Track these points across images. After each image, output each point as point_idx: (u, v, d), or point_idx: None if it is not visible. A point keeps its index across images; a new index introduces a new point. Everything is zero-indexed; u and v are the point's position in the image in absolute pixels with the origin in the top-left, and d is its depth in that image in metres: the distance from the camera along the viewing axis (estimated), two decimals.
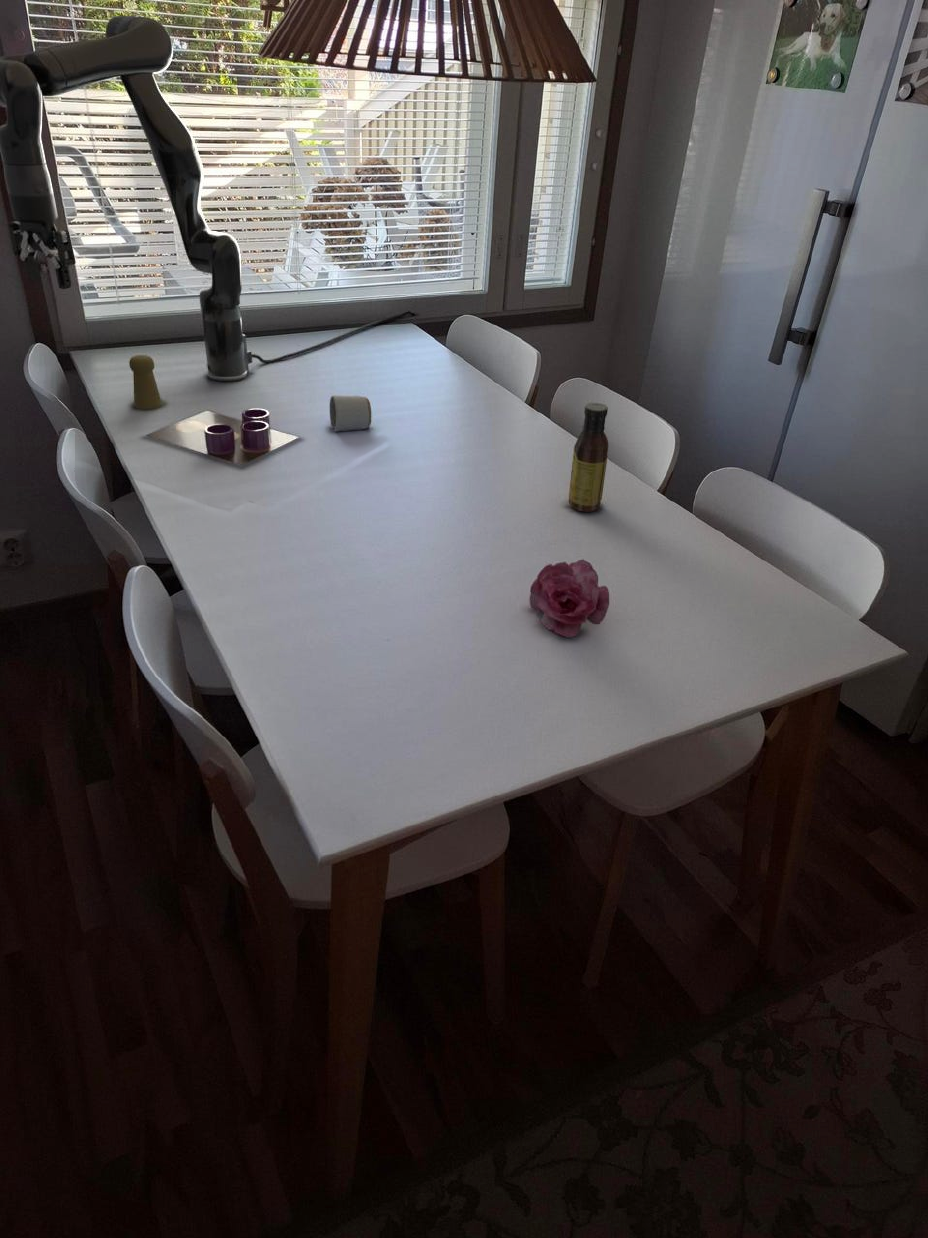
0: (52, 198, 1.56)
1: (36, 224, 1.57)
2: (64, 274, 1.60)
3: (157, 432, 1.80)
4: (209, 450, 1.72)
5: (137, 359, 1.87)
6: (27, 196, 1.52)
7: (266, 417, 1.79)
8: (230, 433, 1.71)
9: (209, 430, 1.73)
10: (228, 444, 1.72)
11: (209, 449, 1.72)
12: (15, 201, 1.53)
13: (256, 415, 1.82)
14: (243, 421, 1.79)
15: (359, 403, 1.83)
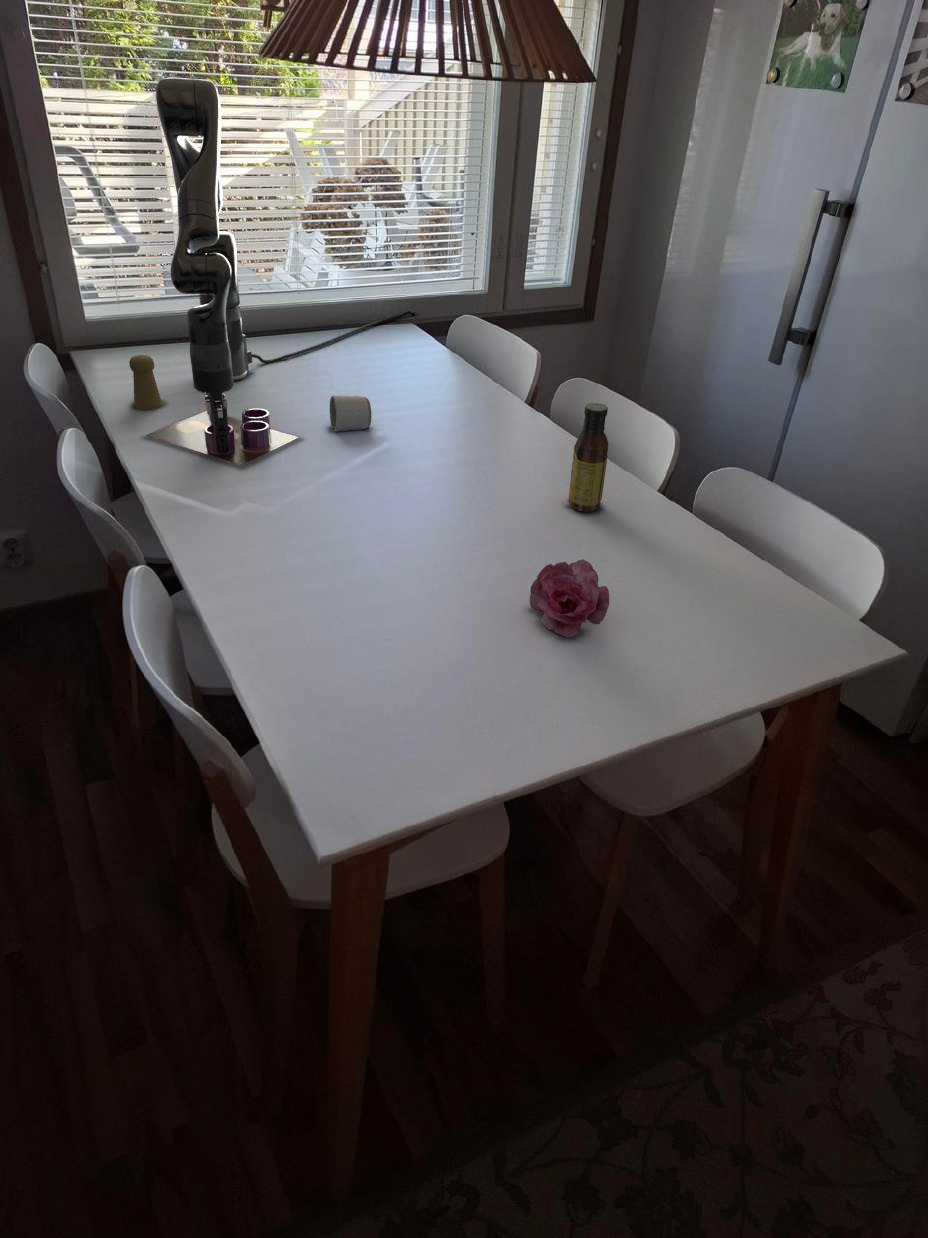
0: (224, 373, 1.63)
1: (209, 393, 1.66)
2: (220, 441, 1.69)
3: (157, 432, 1.80)
4: (209, 450, 1.72)
5: (137, 359, 1.87)
6: (198, 370, 1.62)
7: (266, 417, 1.79)
8: (230, 433, 1.71)
9: (209, 430, 1.73)
10: (228, 444, 1.72)
11: (209, 449, 1.72)
12: (192, 372, 1.64)
13: (256, 415, 1.82)
14: (243, 421, 1.79)
15: (359, 403, 1.83)
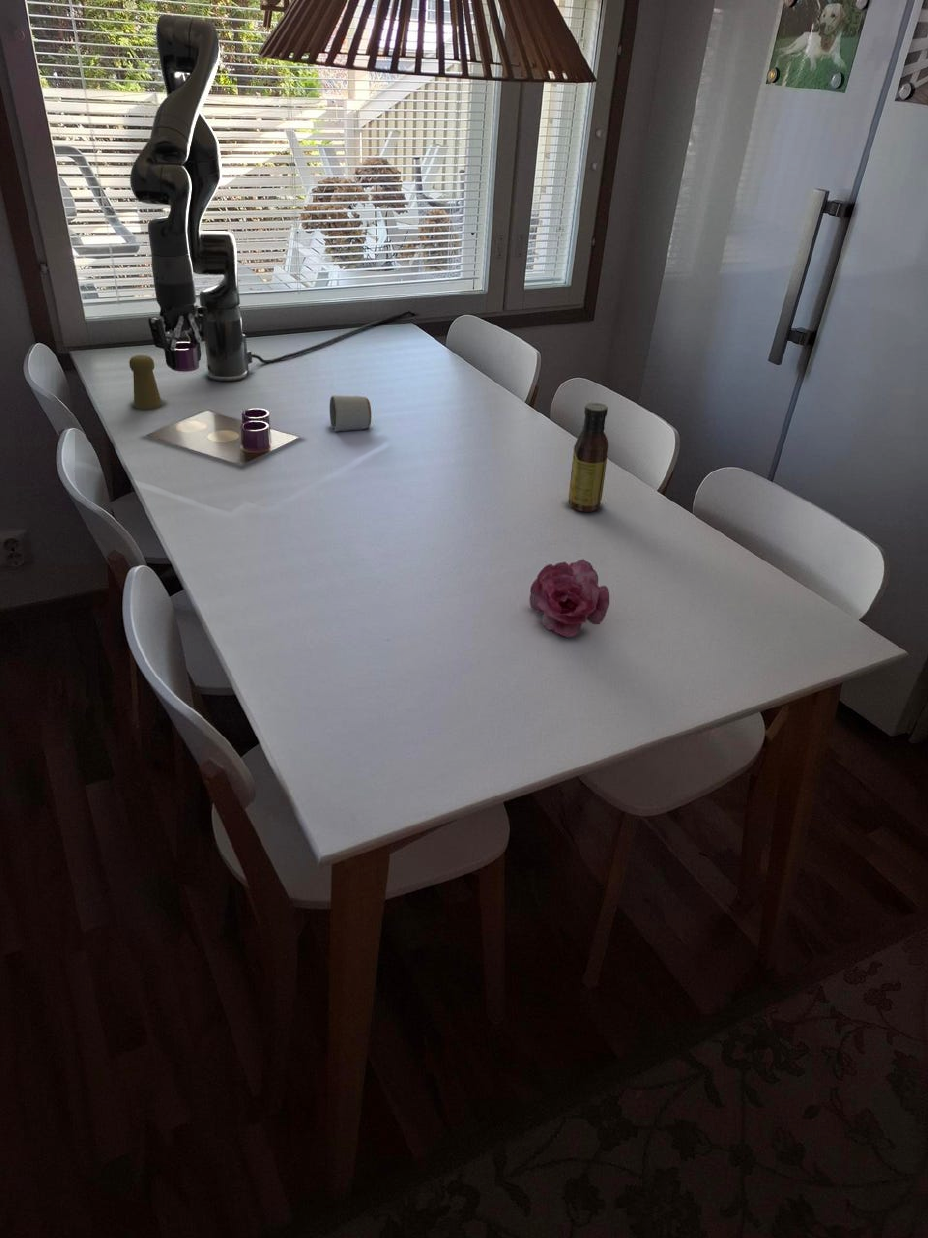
0: (168, 287, 1.64)
1: None
2: (166, 355, 1.71)
3: (157, 432, 1.80)
4: None
5: (137, 359, 1.87)
6: None
7: (266, 417, 1.79)
8: (182, 351, 1.71)
9: (182, 346, 1.76)
10: (179, 362, 1.72)
11: None
12: None
13: (256, 415, 1.82)
14: (243, 421, 1.79)
15: (359, 403, 1.83)
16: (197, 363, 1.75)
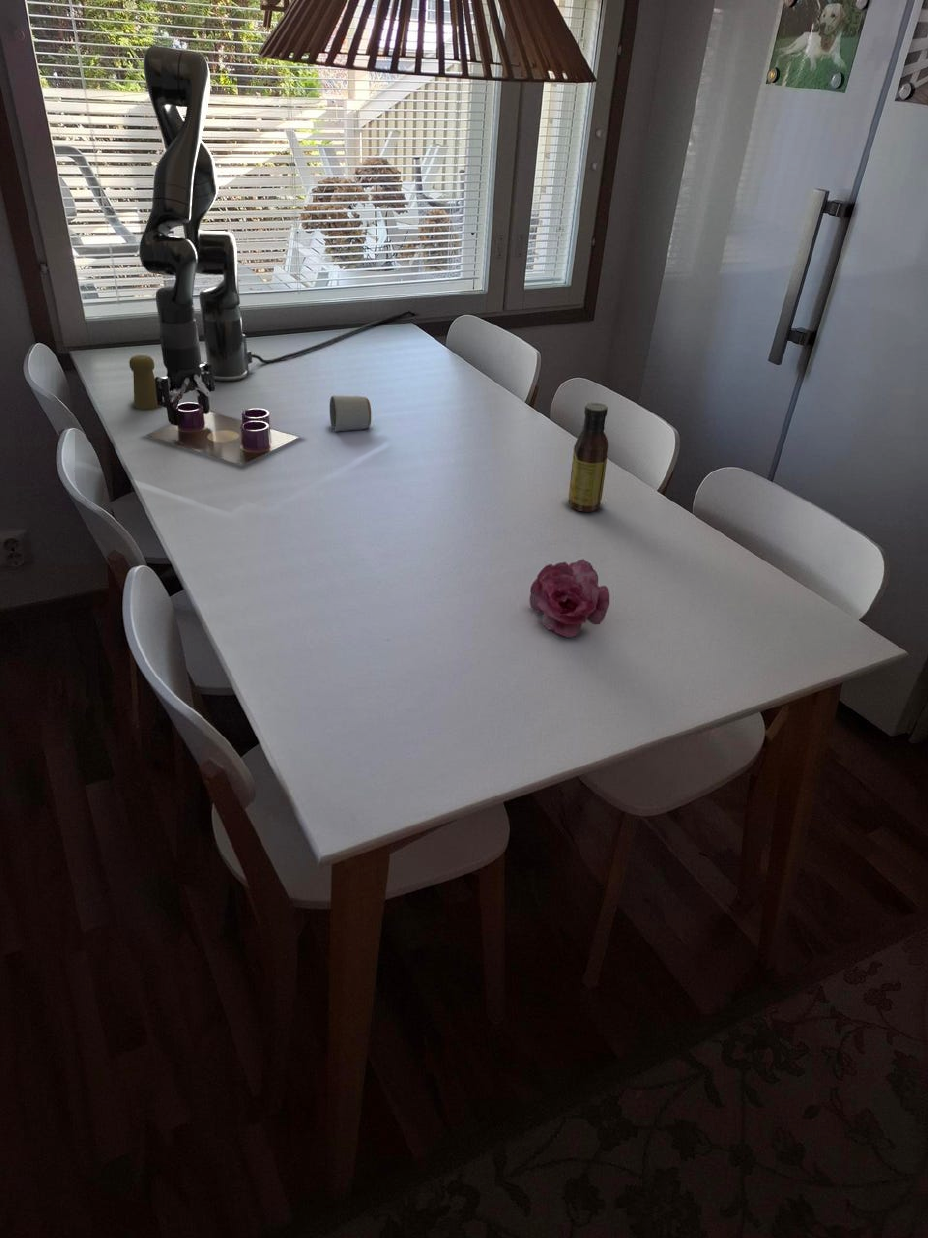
0: (175, 352, 1.71)
1: None
2: (168, 413, 1.77)
3: (157, 432, 1.80)
4: None
5: (137, 359, 1.87)
6: None
7: (266, 417, 1.79)
8: (189, 413, 1.79)
9: (188, 406, 1.83)
10: (186, 422, 1.80)
11: None
12: None
13: (256, 415, 1.82)
14: (243, 421, 1.79)
15: (359, 403, 1.83)
16: (203, 423, 1.82)
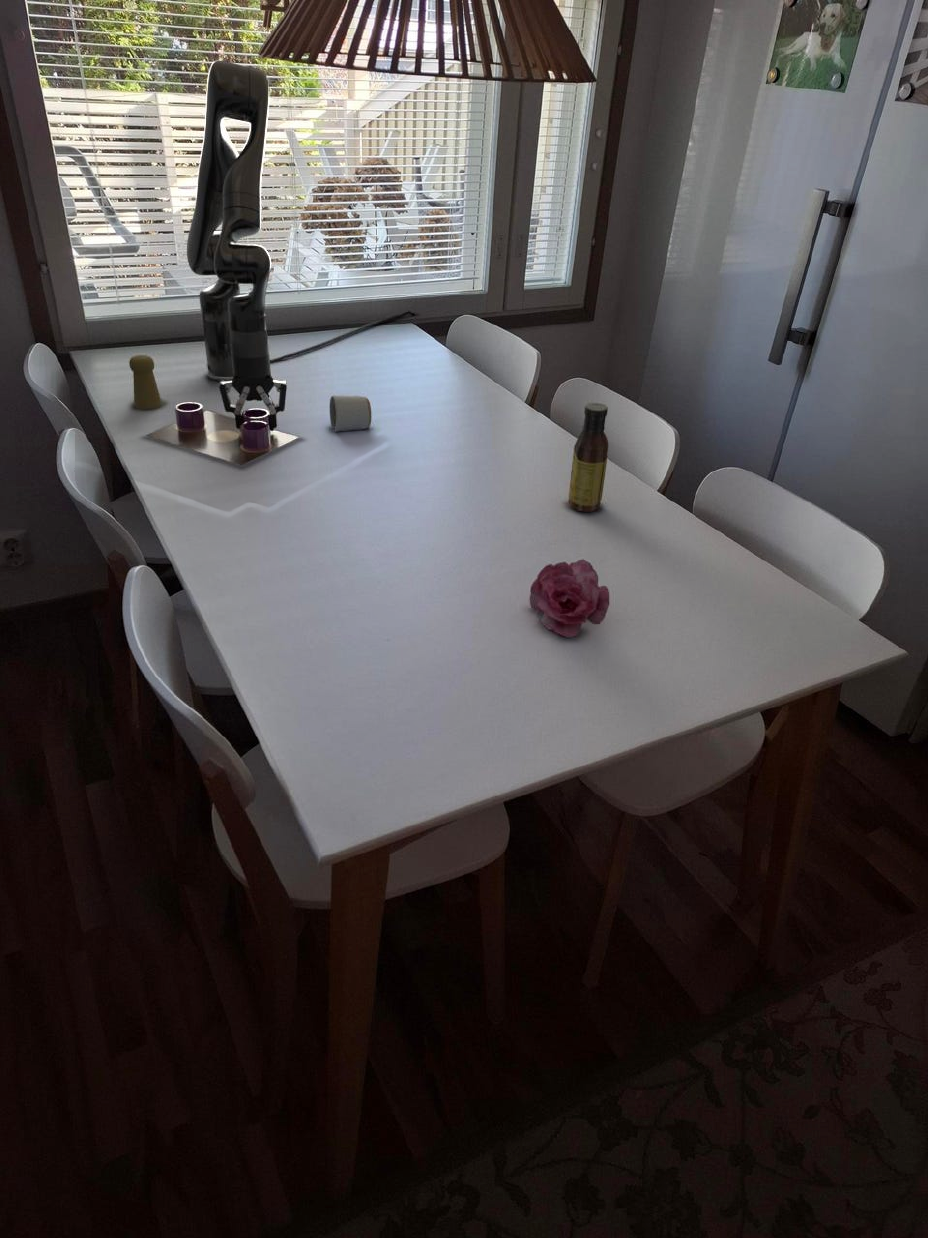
0: (233, 358, 1.71)
1: None
2: None
3: (157, 432, 1.80)
4: None
5: (137, 359, 1.87)
6: None
7: (266, 417, 1.79)
8: (189, 413, 1.79)
9: (188, 406, 1.83)
10: (186, 422, 1.80)
11: None
12: None
13: (256, 415, 1.82)
14: (243, 421, 1.79)
15: (359, 403, 1.83)
16: (203, 423, 1.82)
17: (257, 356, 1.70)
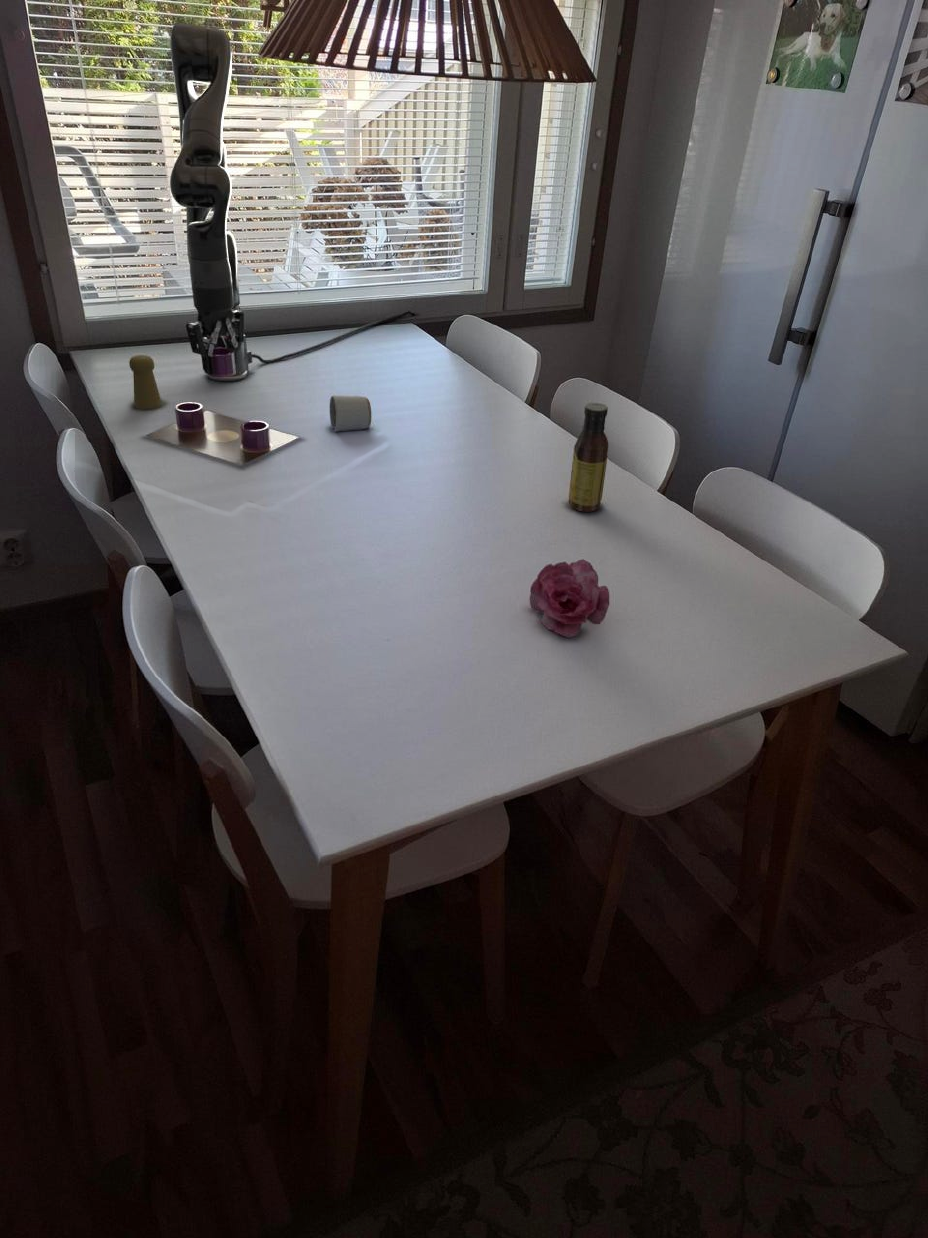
0: (207, 292, 1.61)
1: None
2: (203, 361, 1.68)
3: (157, 432, 1.80)
4: None
5: (137, 359, 1.87)
6: None
7: (233, 351, 1.72)
8: (189, 413, 1.79)
9: (188, 406, 1.83)
10: (186, 422, 1.80)
11: None
12: None
13: None
14: (215, 362, 1.69)
15: (359, 403, 1.83)
16: (203, 423, 1.82)
17: (230, 284, 1.63)
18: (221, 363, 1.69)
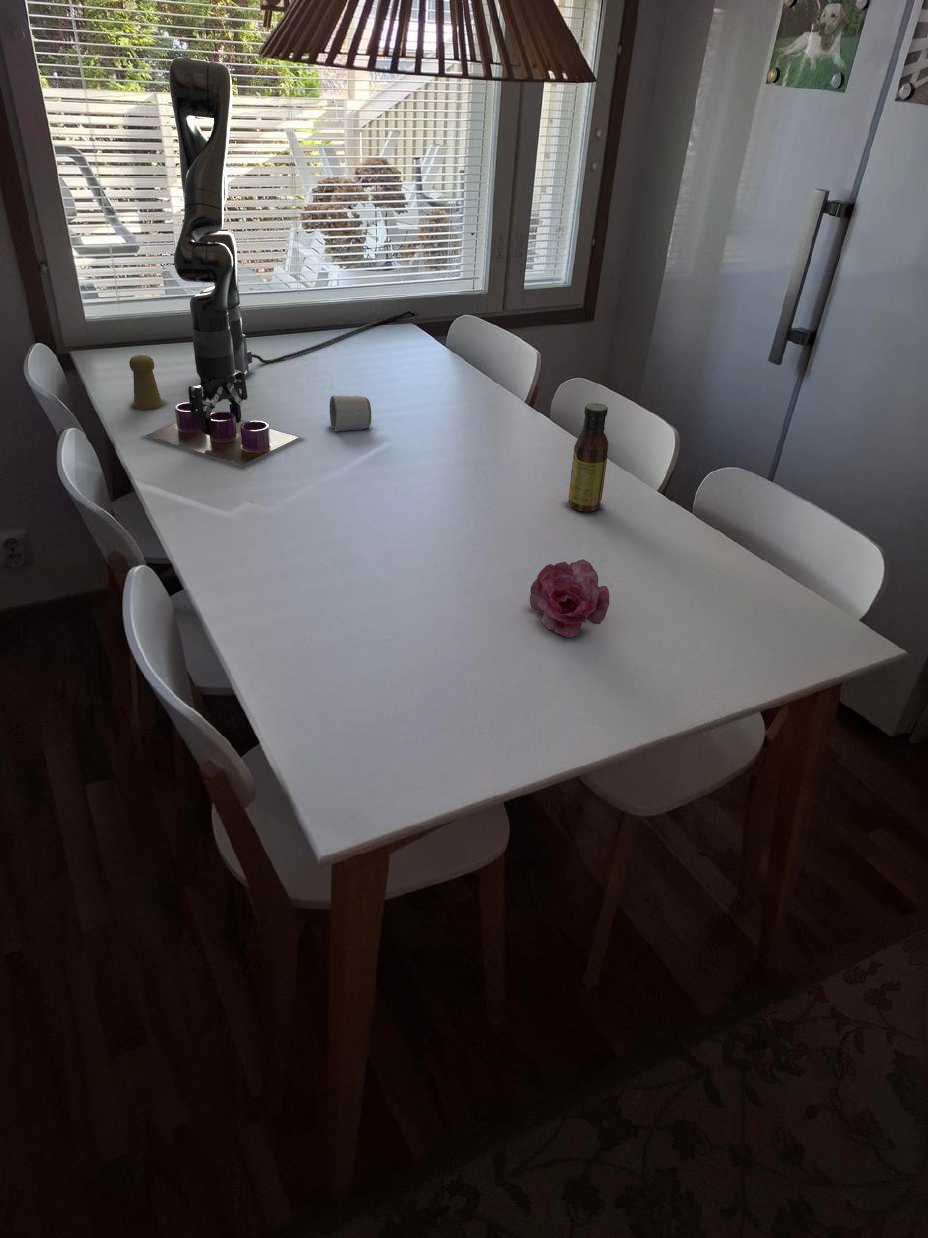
0: (209, 361, 1.67)
1: None
2: (201, 422, 1.74)
3: (157, 432, 1.80)
4: None
5: (137, 359, 1.87)
6: (194, 352, 1.69)
7: None
8: (189, 413, 1.79)
9: (188, 406, 1.83)
10: (186, 422, 1.80)
11: None
12: None
13: (213, 419, 1.79)
14: (217, 427, 1.76)
15: (359, 403, 1.83)
16: None
17: (232, 352, 1.70)
18: (223, 428, 1.76)
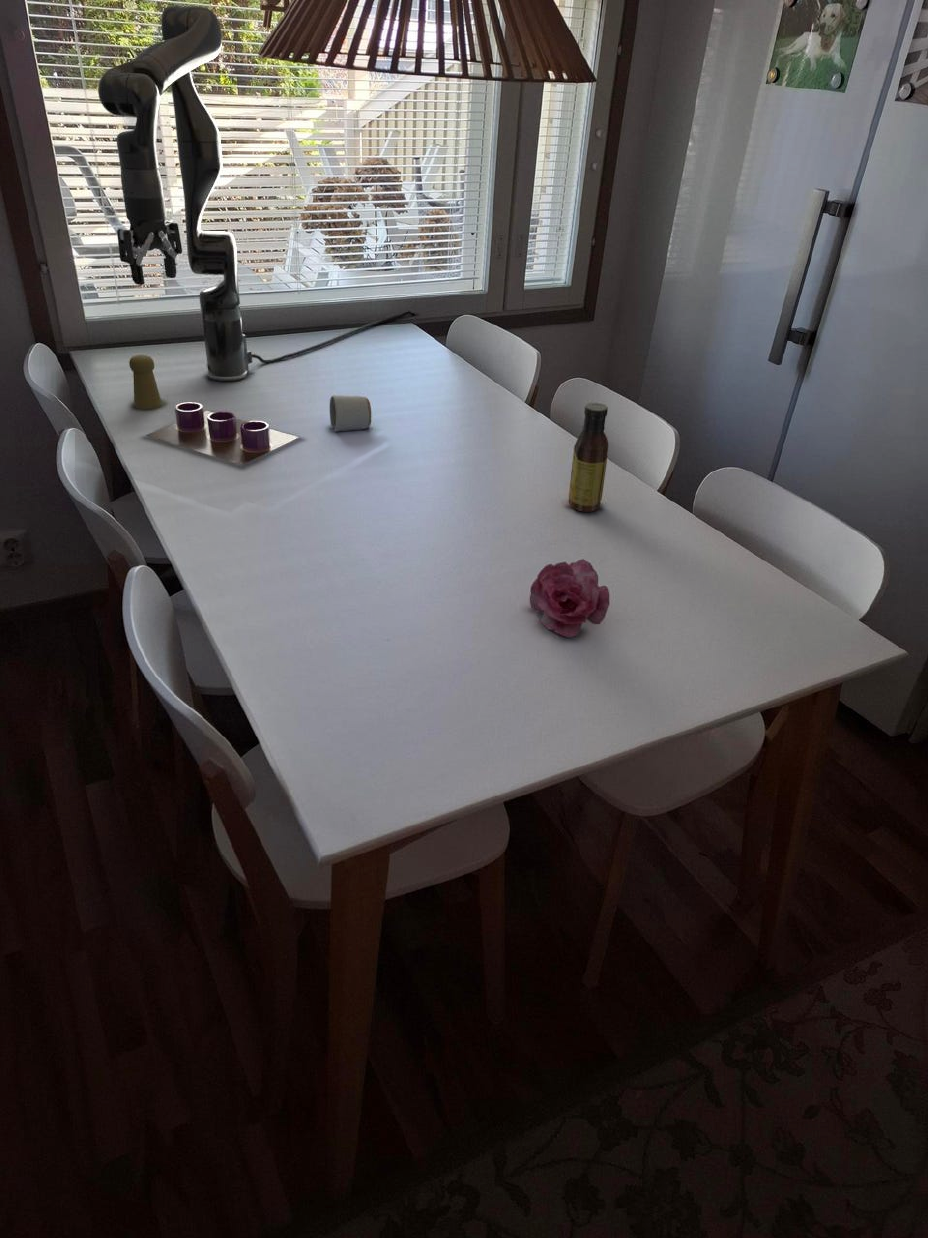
0: (138, 202, 1.64)
1: None
2: (132, 270, 1.70)
3: (157, 432, 1.80)
4: None
5: (137, 359, 1.87)
6: (123, 195, 1.66)
7: None
8: (189, 413, 1.79)
9: (188, 406, 1.83)
10: (186, 422, 1.80)
11: None
12: None
13: (213, 419, 1.79)
14: (217, 427, 1.76)
15: (359, 403, 1.83)
16: (203, 423, 1.82)
17: (162, 195, 1.66)
18: (223, 428, 1.76)
